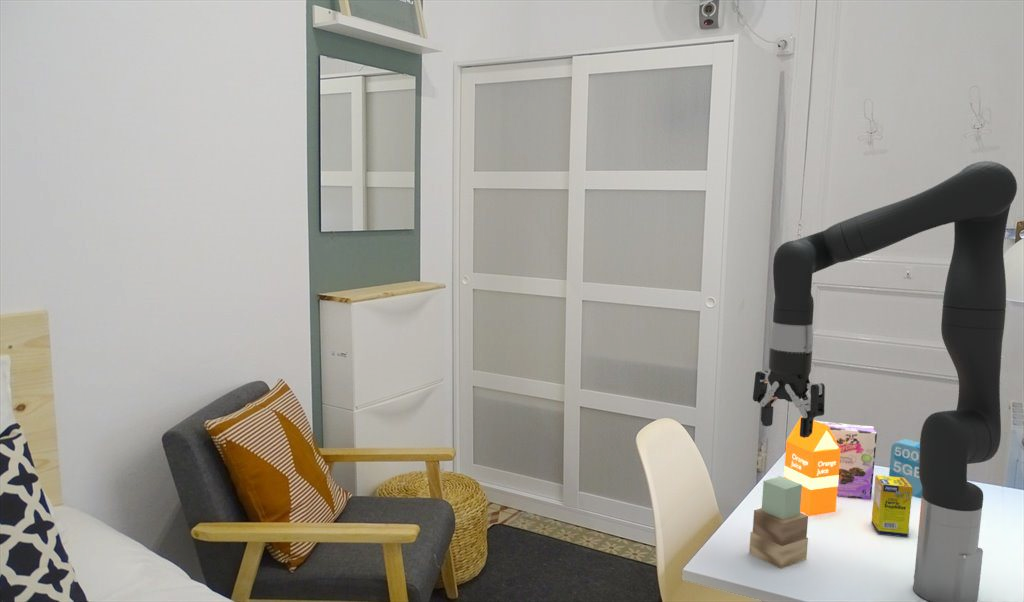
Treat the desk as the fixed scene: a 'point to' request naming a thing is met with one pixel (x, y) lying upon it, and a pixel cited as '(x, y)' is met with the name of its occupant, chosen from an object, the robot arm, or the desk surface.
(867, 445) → the candy box
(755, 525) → the walnut block
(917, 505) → the desk surface
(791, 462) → the orange juice
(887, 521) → the supplement box
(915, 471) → the data package
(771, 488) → the green block
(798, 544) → the oak block
